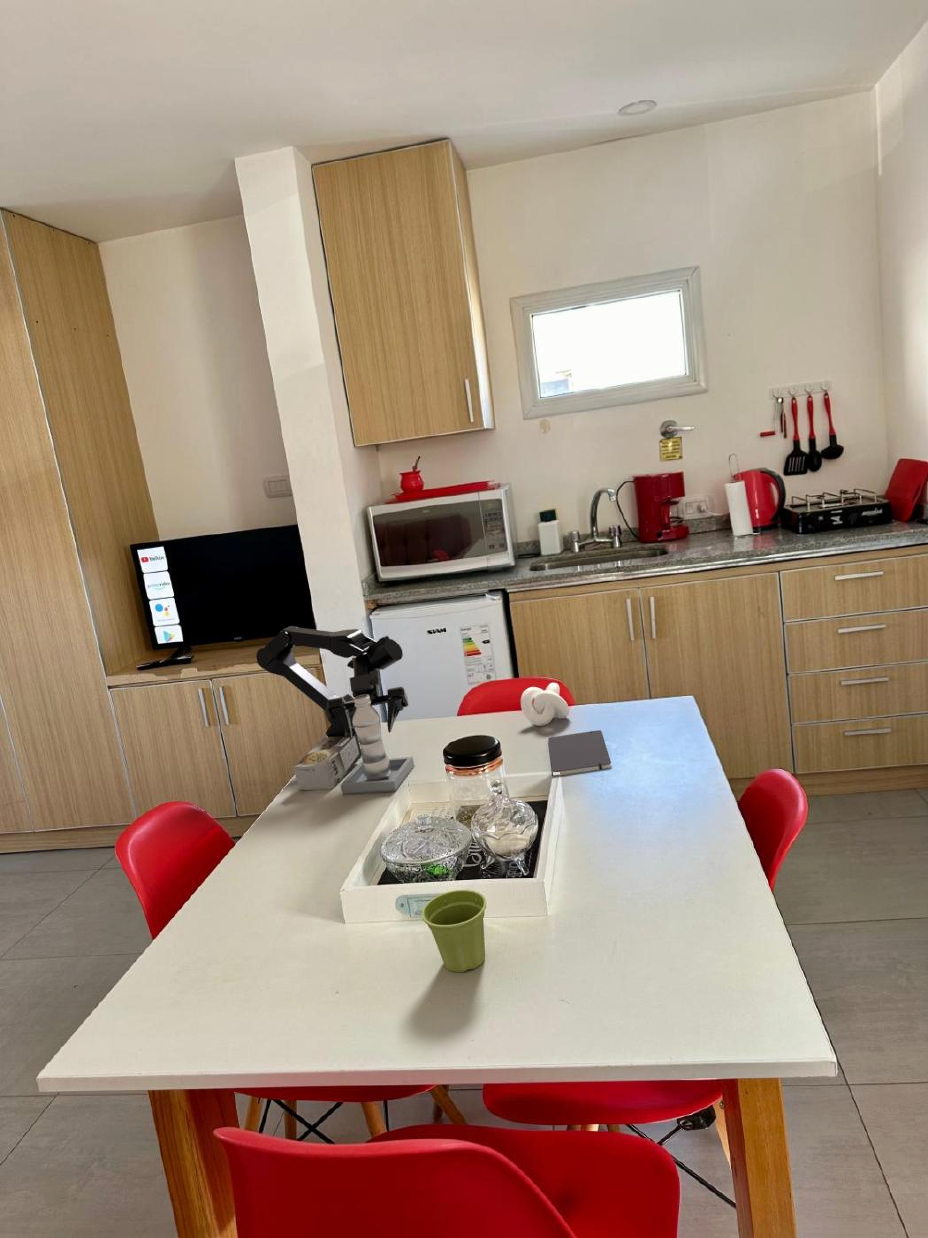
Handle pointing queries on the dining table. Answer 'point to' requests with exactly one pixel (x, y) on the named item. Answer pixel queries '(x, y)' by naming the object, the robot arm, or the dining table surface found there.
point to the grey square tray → (391, 783)
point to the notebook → (578, 752)
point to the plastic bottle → (370, 739)
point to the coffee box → (326, 763)
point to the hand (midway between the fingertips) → (370, 735)
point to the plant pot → (458, 928)
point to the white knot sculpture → (543, 705)
